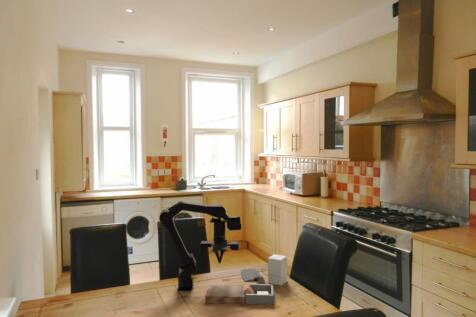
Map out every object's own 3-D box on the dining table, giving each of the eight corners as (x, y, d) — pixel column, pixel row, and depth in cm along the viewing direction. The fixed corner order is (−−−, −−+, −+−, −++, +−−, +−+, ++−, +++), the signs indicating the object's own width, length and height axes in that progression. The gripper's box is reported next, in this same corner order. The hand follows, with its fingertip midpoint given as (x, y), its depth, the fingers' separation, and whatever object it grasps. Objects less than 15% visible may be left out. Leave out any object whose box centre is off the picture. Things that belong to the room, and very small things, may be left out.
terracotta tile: (243, 290, 158) (247, 287, 158) (243, 286, 163) (248, 283, 163) (249, 300, 158) (254, 297, 158) (249, 295, 163) (254, 292, 163)
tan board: (205, 302, 156) (205, 295, 156) (209, 291, 168) (209, 284, 167) (244, 303, 154) (244, 297, 154) (245, 292, 166) (245, 285, 166)
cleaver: (270, 291, 168) (270, 286, 168) (250, 293, 166) (250, 288, 166) (255, 270, 197) (255, 266, 197) (238, 271, 195) (238, 267, 195)
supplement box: (287, 281, 179) (287, 256, 179) (281, 286, 173) (281, 260, 172) (274, 278, 183) (274, 253, 183) (267, 283, 177) (267, 257, 176)
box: (245, 303, 154) (245, 294, 154) (247, 292, 166) (246, 283, 166) (273, 304, 153) (273, 295, 153) (273, 292, 165) (273, 284, 165)
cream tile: (268, 296, 157) (268, 301, 157) (268, 291, 162) (268, 296, 162) (257, 296, 157) (257, 301, 157) (257, 291, 162) (257, 296, 162)
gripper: (197, 235, 166) (197, 268, 166) (237, 235, 164) (237, 269, 165) (201, 229, 177) (201, 260, 178) (239, 229, 175) (239, 261, 176)
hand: (219, 263), depth 174 cm, fingers closed
